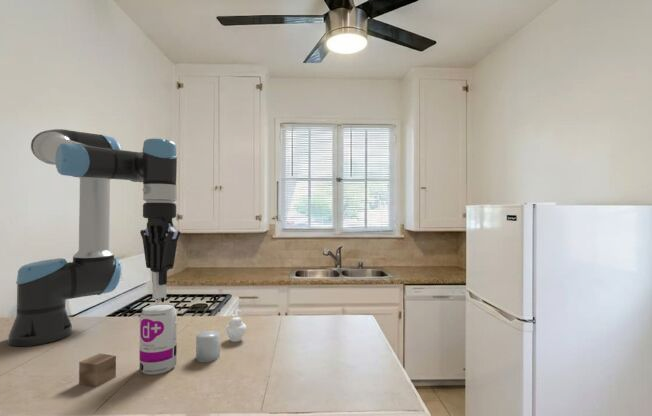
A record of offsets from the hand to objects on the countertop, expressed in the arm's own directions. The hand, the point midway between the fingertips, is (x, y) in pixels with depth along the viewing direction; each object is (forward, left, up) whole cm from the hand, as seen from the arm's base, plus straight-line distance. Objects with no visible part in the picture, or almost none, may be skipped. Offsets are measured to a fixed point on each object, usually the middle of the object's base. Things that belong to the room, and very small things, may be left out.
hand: (159, 297), depth 87 cm
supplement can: (0, 0, -18) cm, 18 cm away
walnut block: (-6, -11, -18) cm, 22 cm away
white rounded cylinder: (+5, +11, -18) cm, 21 cm away
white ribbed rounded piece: (+2, +24, -18) cm, 30 cm away
